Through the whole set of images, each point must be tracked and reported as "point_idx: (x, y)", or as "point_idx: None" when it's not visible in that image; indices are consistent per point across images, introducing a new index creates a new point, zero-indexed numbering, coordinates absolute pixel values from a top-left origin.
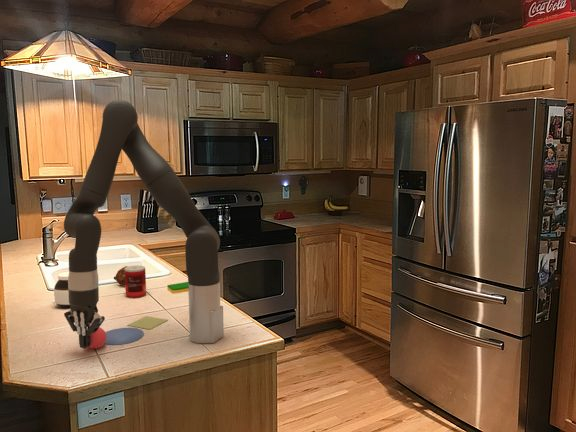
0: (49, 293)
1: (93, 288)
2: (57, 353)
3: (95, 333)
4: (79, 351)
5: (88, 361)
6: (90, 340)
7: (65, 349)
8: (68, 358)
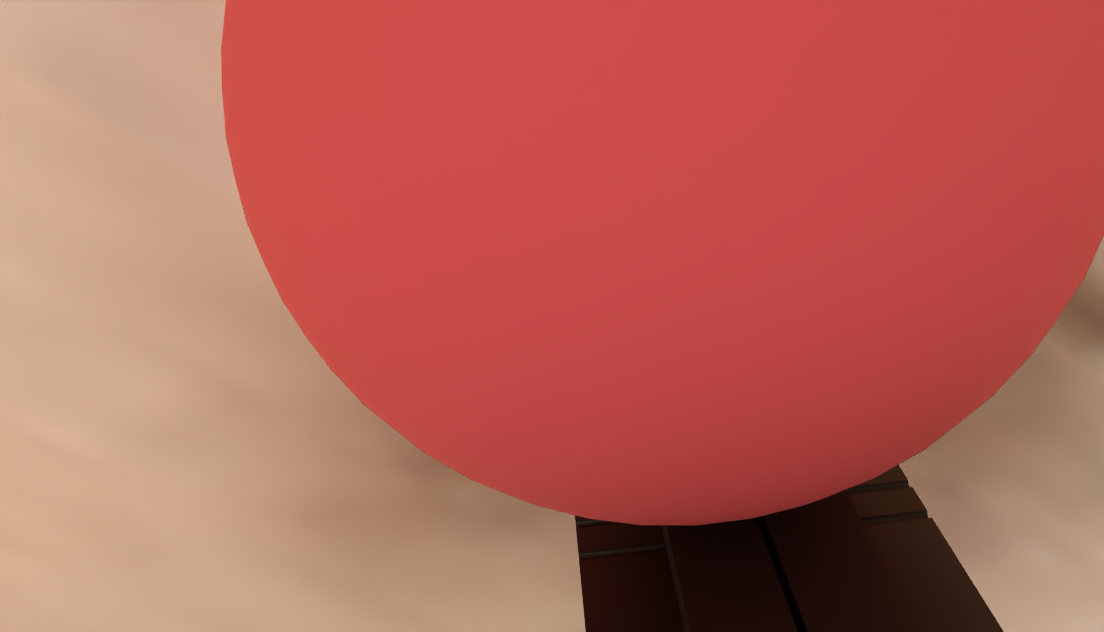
0: None
1: None
2: (172, 605)
3: (999, 387)
4: None
5: (1032, 535)
6: (920, 509)
7: (93, 440)
8: (569, 623)
